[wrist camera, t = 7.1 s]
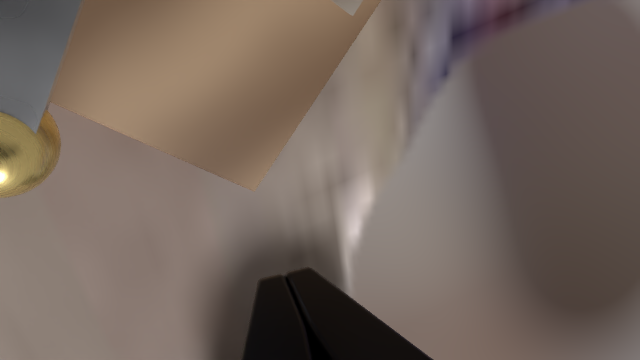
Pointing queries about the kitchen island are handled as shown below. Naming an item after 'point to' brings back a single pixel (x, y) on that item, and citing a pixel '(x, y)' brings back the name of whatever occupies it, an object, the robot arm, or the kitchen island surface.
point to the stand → (207, 73)
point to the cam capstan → (31, 87)
